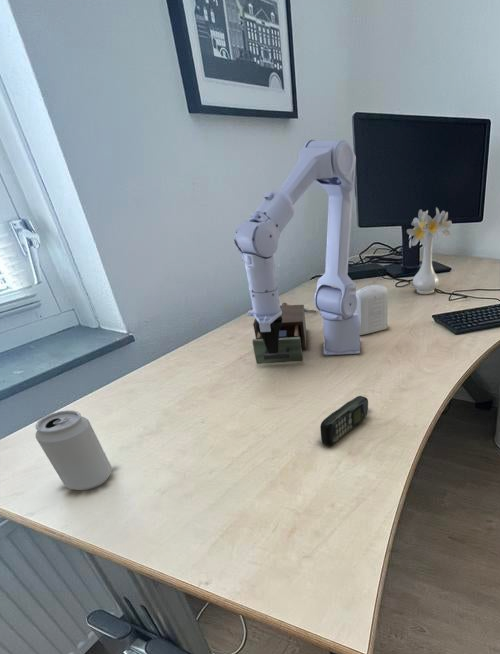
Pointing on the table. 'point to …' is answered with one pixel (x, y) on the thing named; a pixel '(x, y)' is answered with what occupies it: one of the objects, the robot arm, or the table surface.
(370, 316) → the white rounded slab
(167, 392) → the table surface
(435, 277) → the flower vase
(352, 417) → the mobile phone
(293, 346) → the drawer
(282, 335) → the block
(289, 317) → the cabinet
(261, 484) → the table surface
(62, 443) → the can
